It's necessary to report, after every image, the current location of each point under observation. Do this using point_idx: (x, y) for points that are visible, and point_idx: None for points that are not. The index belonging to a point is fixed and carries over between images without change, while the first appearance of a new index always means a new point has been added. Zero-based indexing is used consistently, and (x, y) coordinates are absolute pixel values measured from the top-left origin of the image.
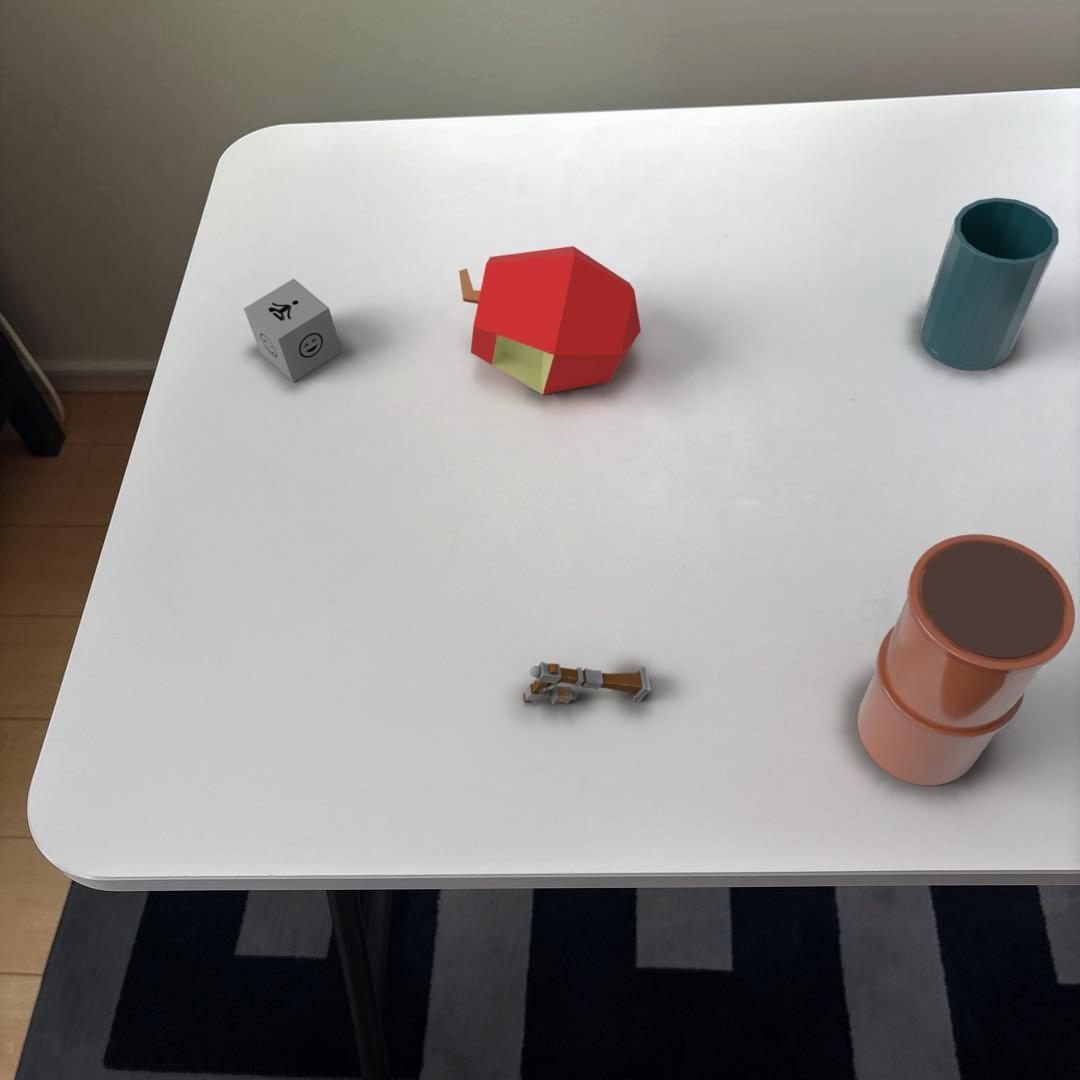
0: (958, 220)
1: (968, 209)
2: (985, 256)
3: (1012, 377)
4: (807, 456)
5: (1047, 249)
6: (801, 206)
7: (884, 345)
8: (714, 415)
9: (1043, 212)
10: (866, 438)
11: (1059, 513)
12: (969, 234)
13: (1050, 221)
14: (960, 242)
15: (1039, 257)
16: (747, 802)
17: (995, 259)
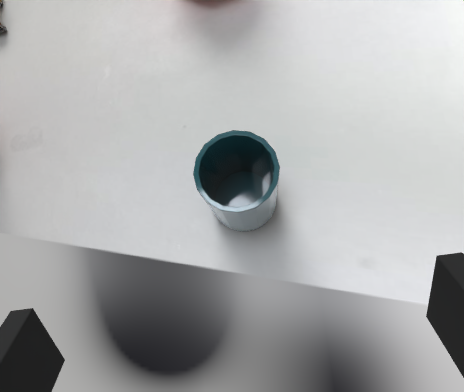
0: (245, 133)
1: (261, 142)
2: (201, 151)
3: (207, 227)
4: (139, 101)
5: (212, 200)
6: (379, 94)
7: None
8: (170, 51)
9: (260, 202)
10: (153, 134)
11: (94, 241)
12: (269, 163)
13: (248, 207)
14: (219, 134)
15: (201, 192)
16: None
17: (198, 158)
